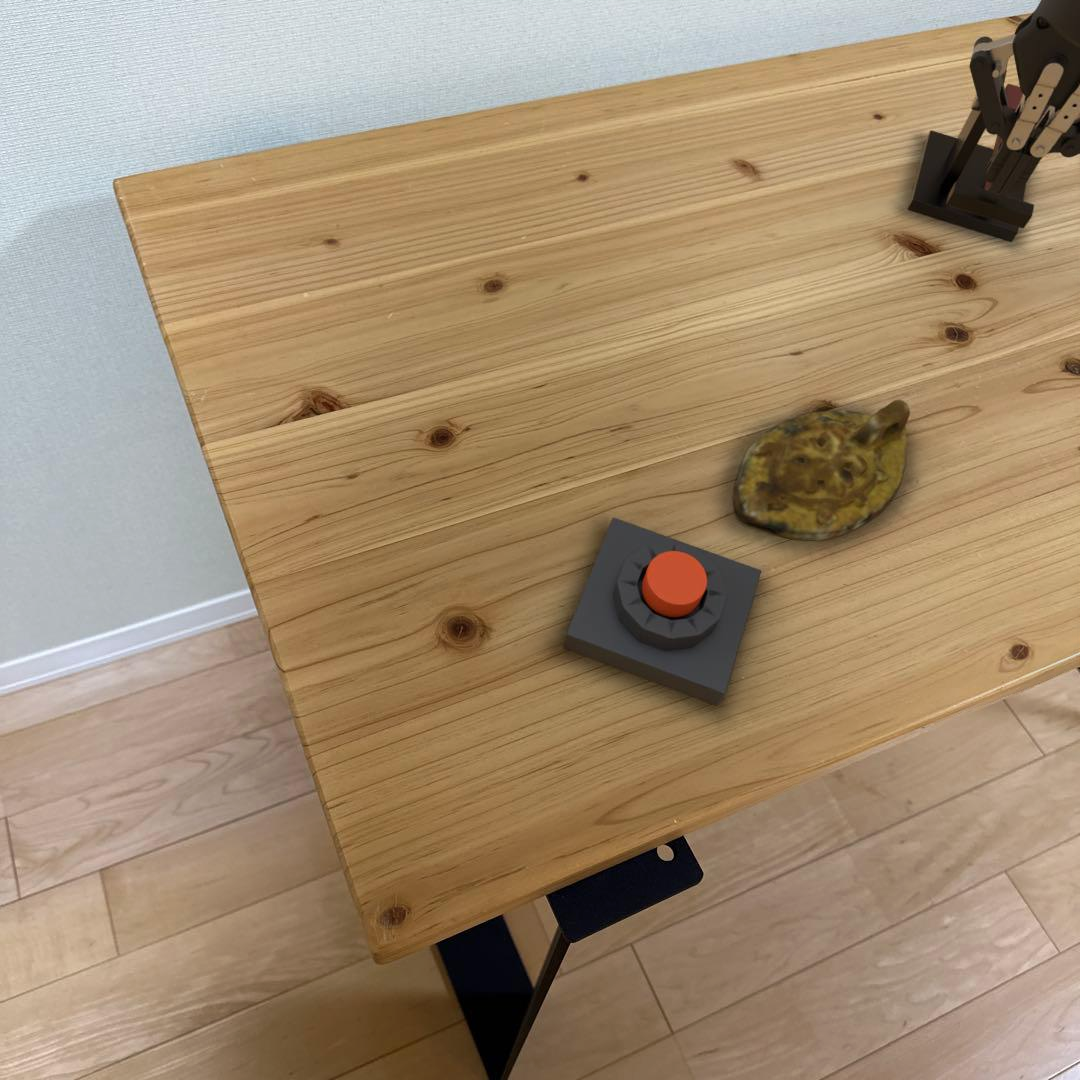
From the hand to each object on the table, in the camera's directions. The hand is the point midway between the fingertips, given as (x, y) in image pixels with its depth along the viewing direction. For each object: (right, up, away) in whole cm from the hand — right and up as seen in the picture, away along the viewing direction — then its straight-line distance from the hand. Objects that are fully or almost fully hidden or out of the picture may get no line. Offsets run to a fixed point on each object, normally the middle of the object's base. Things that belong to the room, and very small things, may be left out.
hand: (999, 186), depth 72 cm
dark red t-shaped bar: (+2, +4, +5) cm, 6 cm away
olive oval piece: (-14, -22, -4) cm, 26 cm away
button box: (-26, -31, -10) cm, 42 cm away
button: (-26, -29, -14) cm, 41 cm away
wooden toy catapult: (+3, +4, +13) cm, 14 cm away
